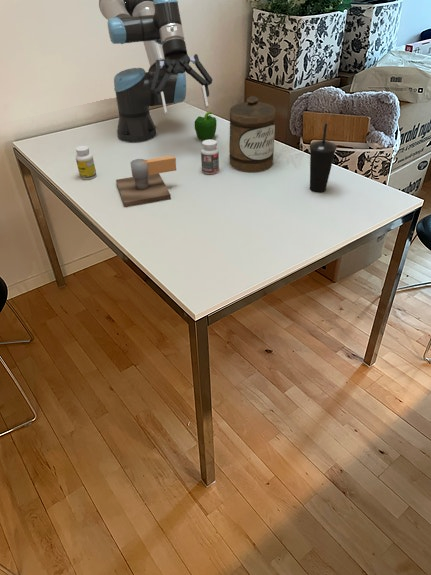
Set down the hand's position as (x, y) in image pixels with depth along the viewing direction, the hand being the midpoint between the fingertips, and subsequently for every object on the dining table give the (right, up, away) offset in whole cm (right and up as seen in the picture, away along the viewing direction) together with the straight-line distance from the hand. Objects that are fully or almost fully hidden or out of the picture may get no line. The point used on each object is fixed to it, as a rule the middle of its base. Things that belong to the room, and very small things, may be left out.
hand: (186, 110), depth 148 cm
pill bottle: (+8, -19, +4) cm, 21 cm away
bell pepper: (+6, -1, +25) cm, 26 cm away
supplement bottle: (-33, -21, +3) cm, 39 cm away
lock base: (-13, -28, -6) cm, 31 cm away
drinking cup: (+41, -27, -8) cm, 50 cm away
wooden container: (+22, -15, +8) cm, 28 cm away
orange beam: (-9, -23, -9) cm, 26 cm away
